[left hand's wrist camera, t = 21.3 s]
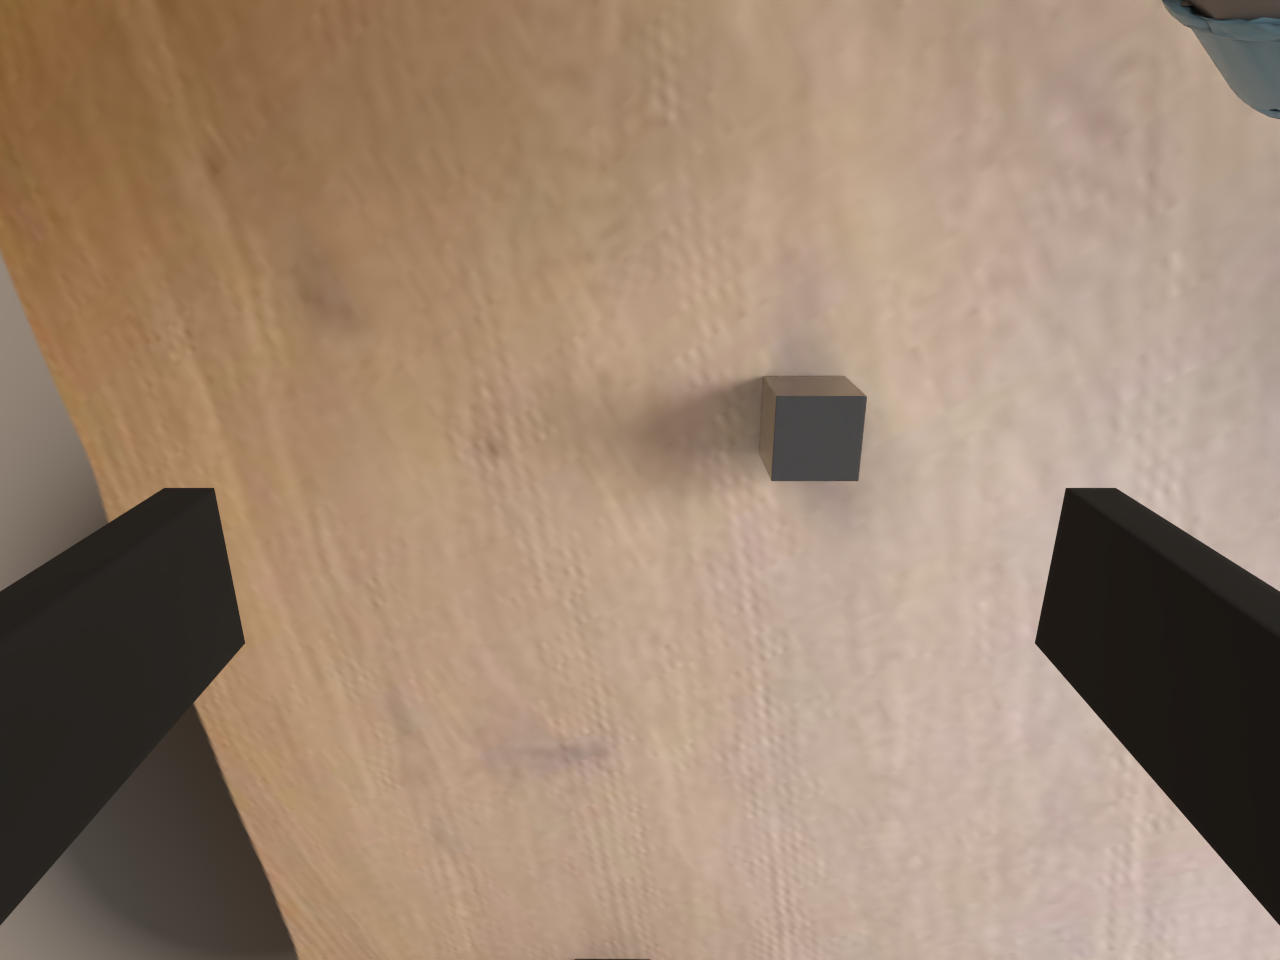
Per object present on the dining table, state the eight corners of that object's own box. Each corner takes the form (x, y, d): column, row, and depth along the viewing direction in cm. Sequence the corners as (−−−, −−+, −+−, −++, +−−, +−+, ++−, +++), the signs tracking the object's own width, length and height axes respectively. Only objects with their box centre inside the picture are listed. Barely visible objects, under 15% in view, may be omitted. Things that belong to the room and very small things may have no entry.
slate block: (763, 375, 39) (776, 396, 35) (845, 375, 39) (867, 396, 35) (758, 453, 40) (771, 481, 36) (838, 453, 40) (858, 481, 36)
